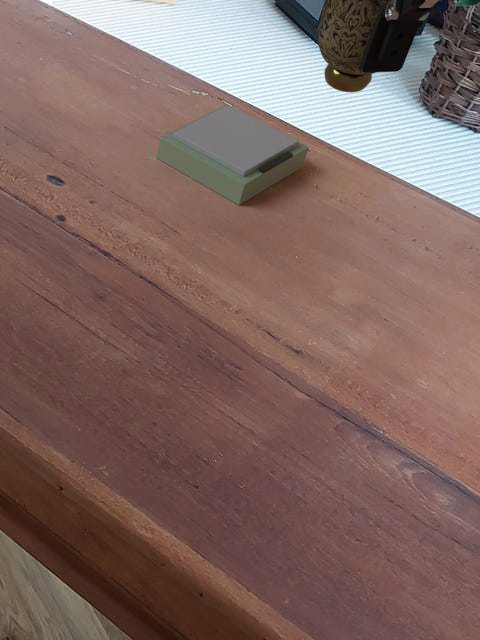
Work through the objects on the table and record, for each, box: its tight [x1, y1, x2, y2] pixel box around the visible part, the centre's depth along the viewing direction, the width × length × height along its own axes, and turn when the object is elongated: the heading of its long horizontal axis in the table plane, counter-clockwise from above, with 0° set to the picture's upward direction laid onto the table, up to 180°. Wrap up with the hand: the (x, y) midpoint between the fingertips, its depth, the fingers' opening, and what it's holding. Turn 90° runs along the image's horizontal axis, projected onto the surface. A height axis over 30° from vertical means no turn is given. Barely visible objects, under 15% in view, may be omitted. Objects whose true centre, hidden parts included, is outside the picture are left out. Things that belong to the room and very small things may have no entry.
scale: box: [156, 104, 310, 206], centre depth 93 cm, size 11×11×3 cm
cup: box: [318, 0, 386, 93], centre depth 69 cm, size 8×7×8 cm
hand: (359, 43), depth 69 cm, fingers closed on cup, 7 cm apart
